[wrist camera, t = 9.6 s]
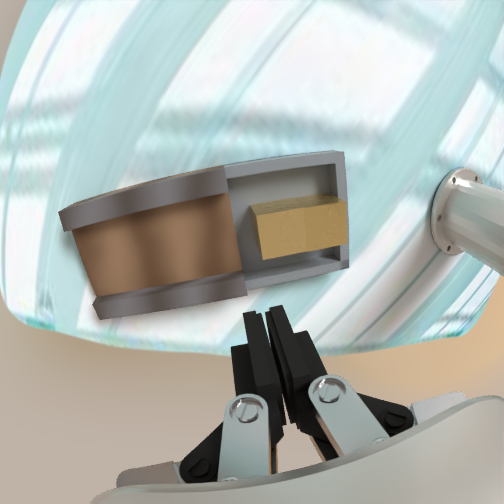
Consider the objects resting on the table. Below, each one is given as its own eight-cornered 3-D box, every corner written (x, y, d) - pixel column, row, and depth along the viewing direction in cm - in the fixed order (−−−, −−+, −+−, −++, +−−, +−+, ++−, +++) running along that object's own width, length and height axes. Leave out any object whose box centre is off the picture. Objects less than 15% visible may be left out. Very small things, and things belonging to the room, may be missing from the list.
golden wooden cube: (290, 197, 26) (303, 207, 23) (294, 236, 28) (306, 251, 24) (249, 204, 26) (256, 215, 22) (256, 243, 28) (262, 260, 24)
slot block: (223, 165, 25) (224, 168, 22) (243, 278, 30) (247, 295, 27) (73, 203, 24) (58, 212, 21) (108, 302, 29) (99, 319, 26)
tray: (333, 150, 26) (343, 151, 23) (339, 258, 30) (349, 267, 28) (223, 165, 25) (224, 167, 23) (243, 278, 30) (246, 289, 27)
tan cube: (328, 192, 27) (345, 201, 23) (331, 230, 28) (347, 243, 25) (290, 198, 26) (303, 208, 23) (294, 236, 28) (307, 251, 24)
